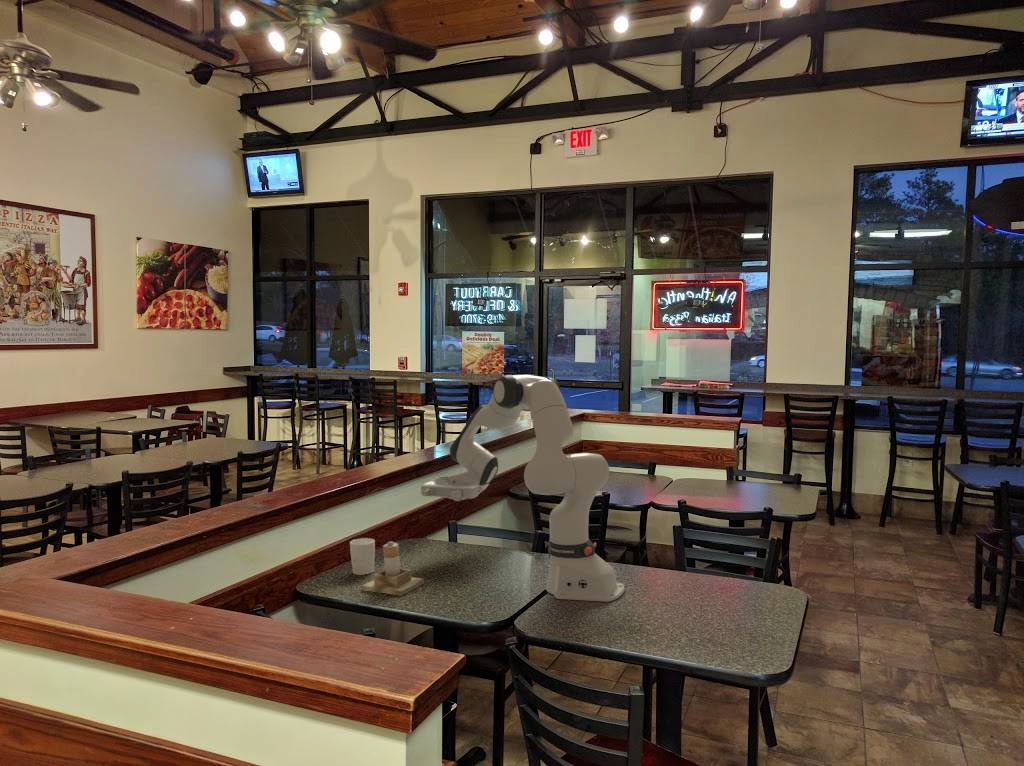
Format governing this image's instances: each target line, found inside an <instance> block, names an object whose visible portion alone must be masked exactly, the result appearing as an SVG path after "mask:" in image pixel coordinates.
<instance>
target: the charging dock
mask: <svg viewBox="0 0 1024 766" xmlns="http://www.w3.org/2000/svg"><path fill="white" fill-rule="evenodd" d="M400 573H401V574H400V575H398V576H396V577H393V576H386V574H385V569H383V570H382V571H379V572H377V573H374V575H373V579H372V580H371V581H368V582H366V583H365V584H362V585H361V591H362V590H364V591H363V592H367V591H373V592H372V593H374V591H375V592H380V593H379V594H381V593H387V594H393V595H392V596H394V595H398V596H397V597H403V596H405V595H407V594H408V593H410V592H412V591H414V590H416V589H417V588H419V587H421V586H423V585H424V584H425V579H424V578H422V577H421V578H420V577H412V569H409V568H408V569H406V568H400ZM422 584H423V585H422ZM420 585H421V586H420ZM415 588H416V589H415ZM413 589H414V590H413ZM411 590H412V591H411ZM409 591H410V592H409ZM406 593H407V594H406ZM387 594H386V595H387ZM404 594H405V595H404ZM402 595H403V596H402Z"/></svg>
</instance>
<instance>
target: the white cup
mask: <svg viewBox="0 0 1024 766" xmlns="http://www.w3.org/2000/svg"><path fill="white" fill-rule="evenodd" d="M375 542H376V540H375V539H373V538H368V537H365V538H364V537H361V538H356V539H352V540H351V541H349V549H350V558H351V559H350V560H351V566H352V567H351V568H352V573H353V575H355V574H356V576H365V574H367V575H370V574H369V573H371V574H373V573H374V572H375V560H376V559H375V557H376V552H375V551H376V543H375ZM372 572H373V573H372Z"/></svg>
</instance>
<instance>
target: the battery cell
mask: <svg viewBox="0 0 1024 766" xmlns="http://www.w3.org/2000/svg"><path fill="white" fill-rule="evenodd" d="M382 550H383V560H384V561H383V562H384V570H385V574H386V576H393V577H396V576H398V575H400V574H401V573H400V569H401V564H400V563H401V561H400V549H399V543H397V542H394V541H387V543H385V544H383V545H382Z"/></svg>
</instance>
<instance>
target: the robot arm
mask: <svg viewBox="0 0 1024 766" xmlns="http://www.w3.org/2000/svg"><path fill="white" fill-rule="evenodd" d="M522 410H526V411H529V413H530V417H531V421H532V425H533V428H534V432H535V437H536V449H535V452H534V454H533V457H532V458H531V459H530V460H529V461H528V463H527V464H526V466H525V468H524V471H523V472H524V473H523V479H524V483H525V486H526V488H527V489H528V490H529V492H531V493H532V494H534V495H544V496H553V495H561V494H564V497H563V499H562V500H561V502H560V503H559V504H558V505H556V506H555V507H554V508H553V509H552V510H551V511H550V514H549V519H548V520H549V521H548V522H549V540H548V550H547V551H548V559H549V569H548V570H549V571H548V577H547V581H546V582H547V583H546V586H545V590H546V591H547V593H549V594H551V595H553V597H554V598H555V599H557V600H568V601H569V600H573V601H588V602H590V601H591V602H612V601H615V600H617V599H619V598H620V597H621V596H622V595H623V594H624V593H625V590H626V588H625V585H624V584H623V583H621V582H617V576H616V571H615V569H614V567H613V566H612V565H610V564H609V563H608V562H606V561H605V560H604V559H603V558H601V557H600V556H599V555H598V554H597V553H596V547H597V542H596V541H595V542H594V543H593V542H592V541H591V540H590V538H589V515H590V510H591V509H590V508H591V506H592V503H593V501H594V499H595V497H596V495H597V494H598V492H599V491H600V490H601V489H602V488H603V487H604V486H605V485H606V484H607V482H608V479H609V478H610V477H609V476H610V466H609V464H608V462H607V460H606V459H605V457H604V456H603V455H602V454H599V453H593V452H592V453H591V452H578V453H568V454H566V453H564V452H563V447H564V446H566V444H568V443H569V442H570V441H571V440H572V438H573V436H574V426H573V423H572V420H571V416H570V413H569V411H568V407H567V403H566V400H565V398H564V397H563V394H562V392H561V386H560V384H559V382H558V381H557V380H556V379H555V378H554V377H550V376H539V375H538V376H537V375H531V374H514V375H512V374H506V375H501V376H500V377H498V378H497V380H496V381H495V382H494V385H493V391H492V395H491V396H490V400H489V402H488V403H487V404H482V405H480V406H479V407H478V408H476V409H475V411H474V412H473V413H472V414H471V416H470V418H469V419H468V421H467V422H466V424H465V426H464V427H463V428H462V430H461V432H460V433H459V435H457V437H456V438H455V440H454V441H453V442H452V444H451V445H450V447H449V454H450V458H451V460H453V461H454V462H456V463H458V465H461V466H462V467H463V468H464V469H466V470H467V471H464V472H462V473H458V474H454V475H450V476H441V477H440V476H439V477H436V478H435V480H430V481H428V482H425V483H423V484H422V485H421V486H420V493H421V496H423V497H427V498H428V497H436V498H438V497H439V498H446V499H450V500H452V501H455V502H460V501H463V500H468V499H469V500H470V499H471V500H472V499H474V498H476V497H479V494H480V493H482V492H484V491H485V490H486V489H487V488H488V487H489V485H490V483H491V482H492V481H493V480H494V478H495V477H496V475H497V473H498V471H499V460H498V458H497V456H495V455H494V454H493V453H492V452H490V451H489V450H488V449H486V448H484V447H483V446H482V445H481V444H479V443H478V442H477V441H476V439H475V435H476V434H477V432H478V431H479V429H480V428H481V427H486V428H489V429H491V430H496V431H503V430H507V429H511V427H513V426H515V424H516V423H517V421H518V419H519V417H520V415H521V413H522Z"/></svg>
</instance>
